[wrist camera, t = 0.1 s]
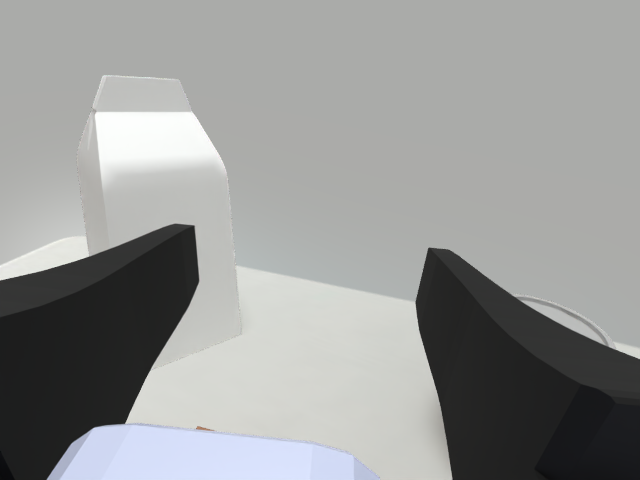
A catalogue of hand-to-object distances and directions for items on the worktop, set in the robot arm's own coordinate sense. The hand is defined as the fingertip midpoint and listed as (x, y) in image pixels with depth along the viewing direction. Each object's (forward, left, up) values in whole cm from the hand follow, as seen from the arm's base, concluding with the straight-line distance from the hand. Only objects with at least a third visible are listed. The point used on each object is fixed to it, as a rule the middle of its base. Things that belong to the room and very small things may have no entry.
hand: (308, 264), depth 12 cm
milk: (+24, +17, -22) cm, 37 cm away
